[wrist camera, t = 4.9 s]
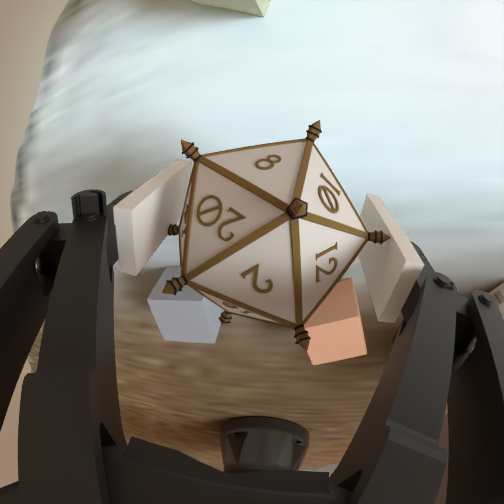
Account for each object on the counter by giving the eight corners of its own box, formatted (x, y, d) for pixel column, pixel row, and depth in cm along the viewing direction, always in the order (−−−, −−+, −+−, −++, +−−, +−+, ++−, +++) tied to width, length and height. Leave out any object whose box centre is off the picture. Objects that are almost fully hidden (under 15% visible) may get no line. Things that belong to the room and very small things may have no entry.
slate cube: (226, 306, 30) (215, 343, 26) (180, 305, 31) (164, 340, 27) (216, 264, 28) (202, 300, 23) (166, 266, 28) (146, 299, 24)
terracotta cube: (360, 315, 29) (367, 353, 24) (312, 326, 30) (313, 365, 26) (351, 277, 26) (359, 315, 22) (298, 290, 28) (297, 329, 24)
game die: (249, 192, 20) (107, 259, 14) (303, 79, 13) (99, 106, 7) (346, 296, 17) (220, 412, 12) (446, 205, 11) (325, 376, 5)
